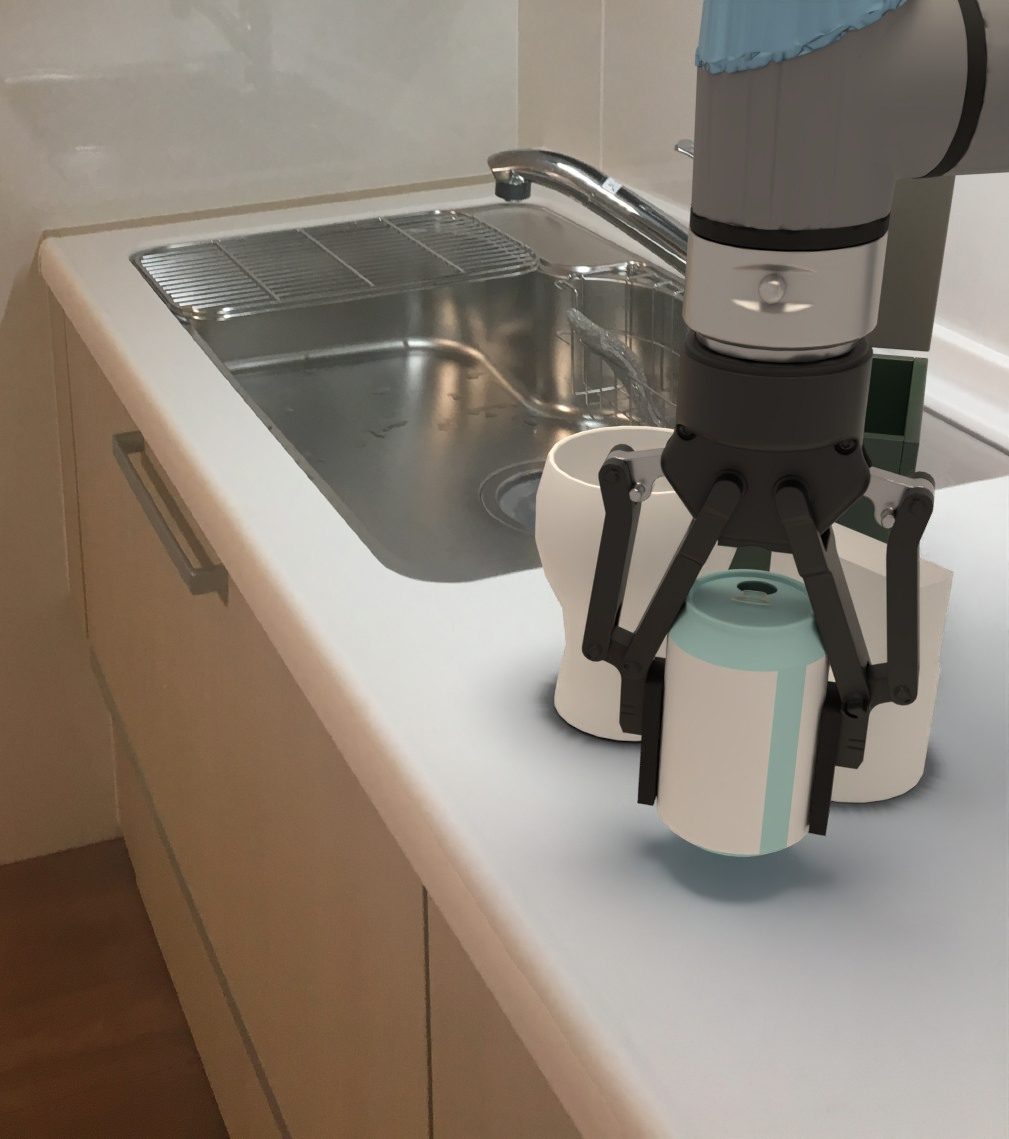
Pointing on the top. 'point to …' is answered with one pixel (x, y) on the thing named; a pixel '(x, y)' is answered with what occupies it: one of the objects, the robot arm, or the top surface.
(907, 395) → the bin
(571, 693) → the cup
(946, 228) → the bin lid
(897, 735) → the base with upright slab
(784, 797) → the can
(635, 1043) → the top surface
